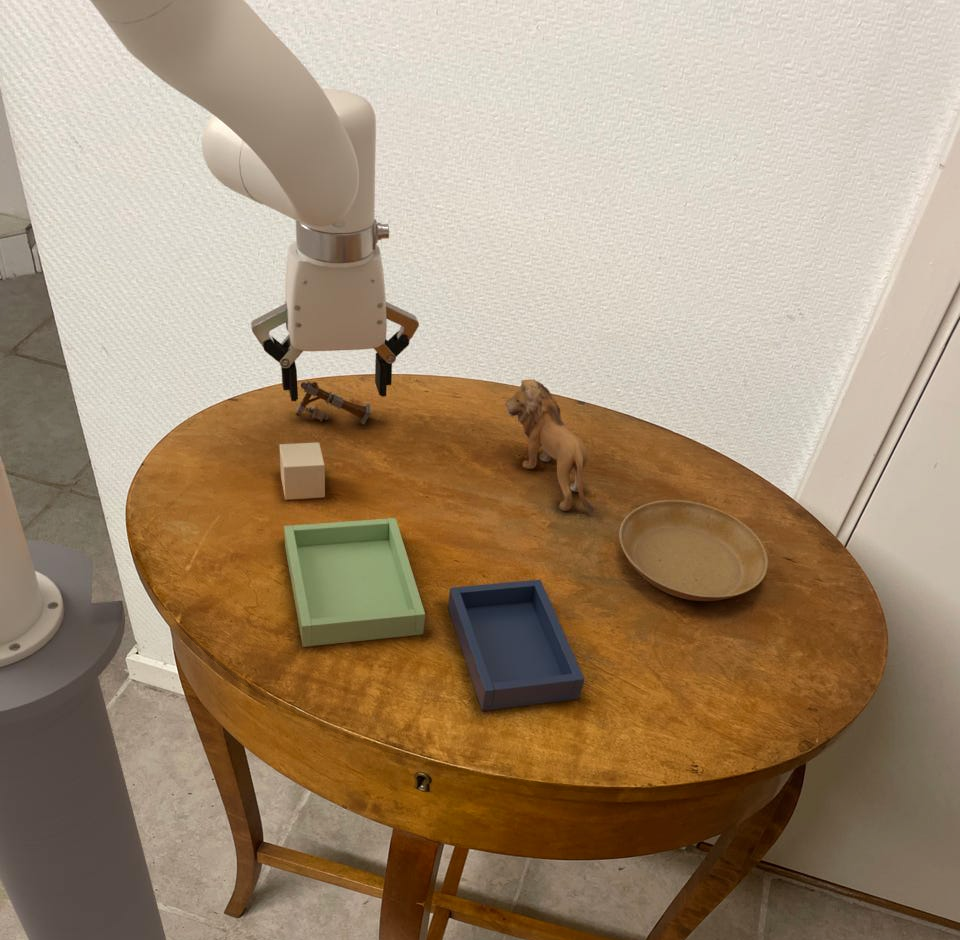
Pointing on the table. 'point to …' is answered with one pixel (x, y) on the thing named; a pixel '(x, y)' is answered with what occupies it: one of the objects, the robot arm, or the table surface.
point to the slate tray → (514, 645)
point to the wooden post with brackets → (330, 398)
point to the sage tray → (352, 582)
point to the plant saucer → (693, 550)
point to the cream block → (302, 470)
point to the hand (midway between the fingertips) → (337, 392)
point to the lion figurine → (550, 437)
